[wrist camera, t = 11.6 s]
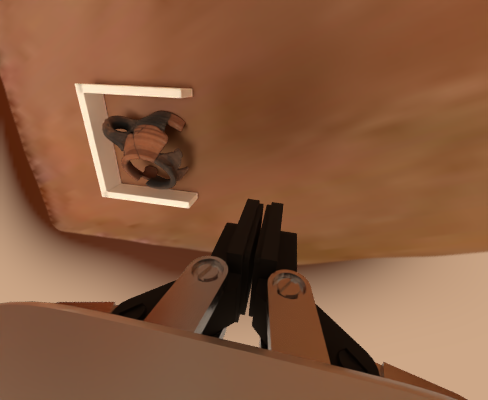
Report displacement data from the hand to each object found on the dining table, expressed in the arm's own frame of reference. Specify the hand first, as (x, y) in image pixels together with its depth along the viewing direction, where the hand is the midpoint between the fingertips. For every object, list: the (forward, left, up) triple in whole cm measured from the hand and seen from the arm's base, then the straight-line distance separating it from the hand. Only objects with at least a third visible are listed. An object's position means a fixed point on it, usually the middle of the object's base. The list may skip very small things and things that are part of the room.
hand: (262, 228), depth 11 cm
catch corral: (+3, -19, -23) cm, 30 cm away
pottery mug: (+2, -18, -23) cm, 29 cm away
